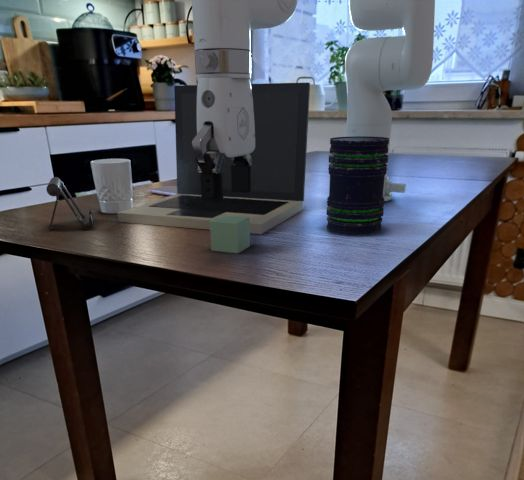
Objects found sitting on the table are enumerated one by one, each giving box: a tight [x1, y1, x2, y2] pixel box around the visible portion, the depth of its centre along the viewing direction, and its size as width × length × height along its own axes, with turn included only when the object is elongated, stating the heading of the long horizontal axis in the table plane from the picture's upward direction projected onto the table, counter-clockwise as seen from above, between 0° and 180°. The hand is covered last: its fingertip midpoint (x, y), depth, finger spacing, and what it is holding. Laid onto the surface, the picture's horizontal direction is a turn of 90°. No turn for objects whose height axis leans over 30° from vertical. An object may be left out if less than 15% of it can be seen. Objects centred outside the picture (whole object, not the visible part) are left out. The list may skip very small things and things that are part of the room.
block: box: [209, 215, 251, 254], centre depth 80 cm, size 5×5×5 cm
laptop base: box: [116, 194, 303, 235], centre depth 103 cm, size 22×30×2 cm
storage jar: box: [326, 136, 389, 237], centre depth 88 cm, size 10×10×15 cm
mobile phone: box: [148, 185, 190, 197], centre depth 127 cm, size 8×1×15 cm
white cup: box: [90, 158, 134, 215], centre depth 107 cm, size 8×8×10 cm
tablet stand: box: [46, 176, 94, 231], centre depth 95 cm, size 9×8×8 cm
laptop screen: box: [173, 82, 311, 202], centre depth 108 cm, size 22×30×1 cm
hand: (227, 196), depth 77 cm, fingers open, 9 cm apart
